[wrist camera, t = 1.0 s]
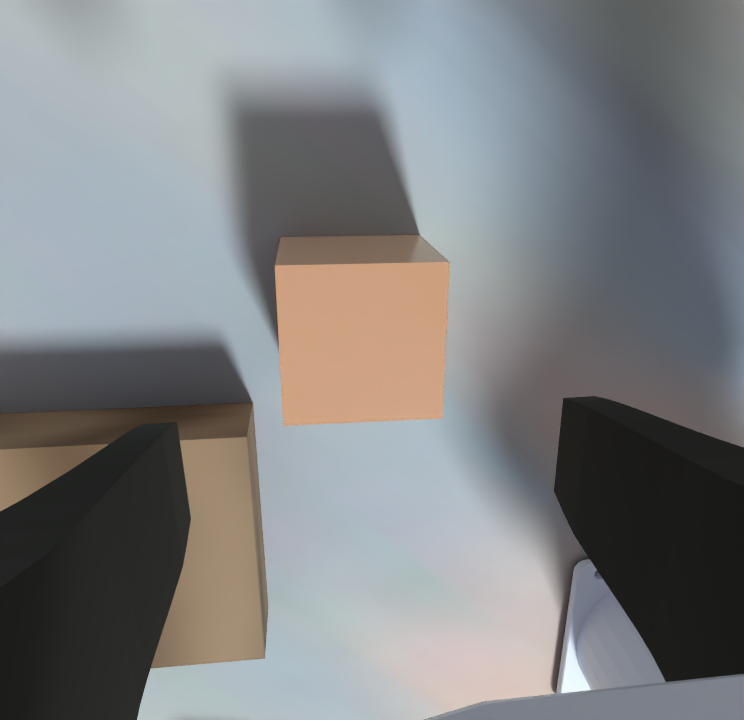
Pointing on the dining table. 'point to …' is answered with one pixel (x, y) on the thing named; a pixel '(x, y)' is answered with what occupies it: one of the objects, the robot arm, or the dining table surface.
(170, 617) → the walnut slab
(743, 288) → the dining table surface
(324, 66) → the dining table surface
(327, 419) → the terracotta cube
